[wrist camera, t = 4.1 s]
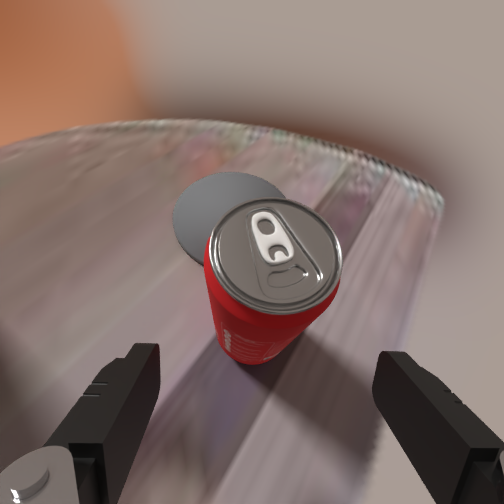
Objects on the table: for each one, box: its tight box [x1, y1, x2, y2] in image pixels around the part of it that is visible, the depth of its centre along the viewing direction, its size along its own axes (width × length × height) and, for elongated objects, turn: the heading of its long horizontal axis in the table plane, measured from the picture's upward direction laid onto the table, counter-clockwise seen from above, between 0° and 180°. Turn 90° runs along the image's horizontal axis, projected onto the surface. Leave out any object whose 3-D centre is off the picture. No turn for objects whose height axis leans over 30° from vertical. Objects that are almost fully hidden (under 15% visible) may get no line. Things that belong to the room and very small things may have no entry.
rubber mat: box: [173, 172, 286, 265], centre depth 24 cm, size 11×11×1 cm
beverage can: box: [204, 197, 343, 365], centre depth 14 cm, size 5×5×12 cm
